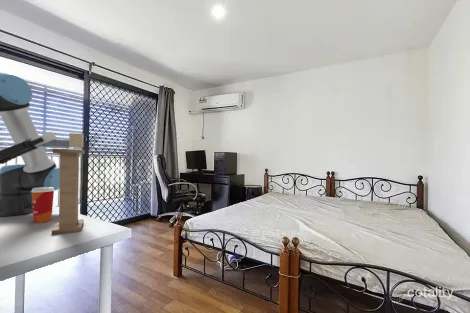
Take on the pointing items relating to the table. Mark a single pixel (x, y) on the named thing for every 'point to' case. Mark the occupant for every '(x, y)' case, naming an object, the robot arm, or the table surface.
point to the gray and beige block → (66, 141)
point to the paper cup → (42, 204)
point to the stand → (68, 192)
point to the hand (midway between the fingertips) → (54, 135)
